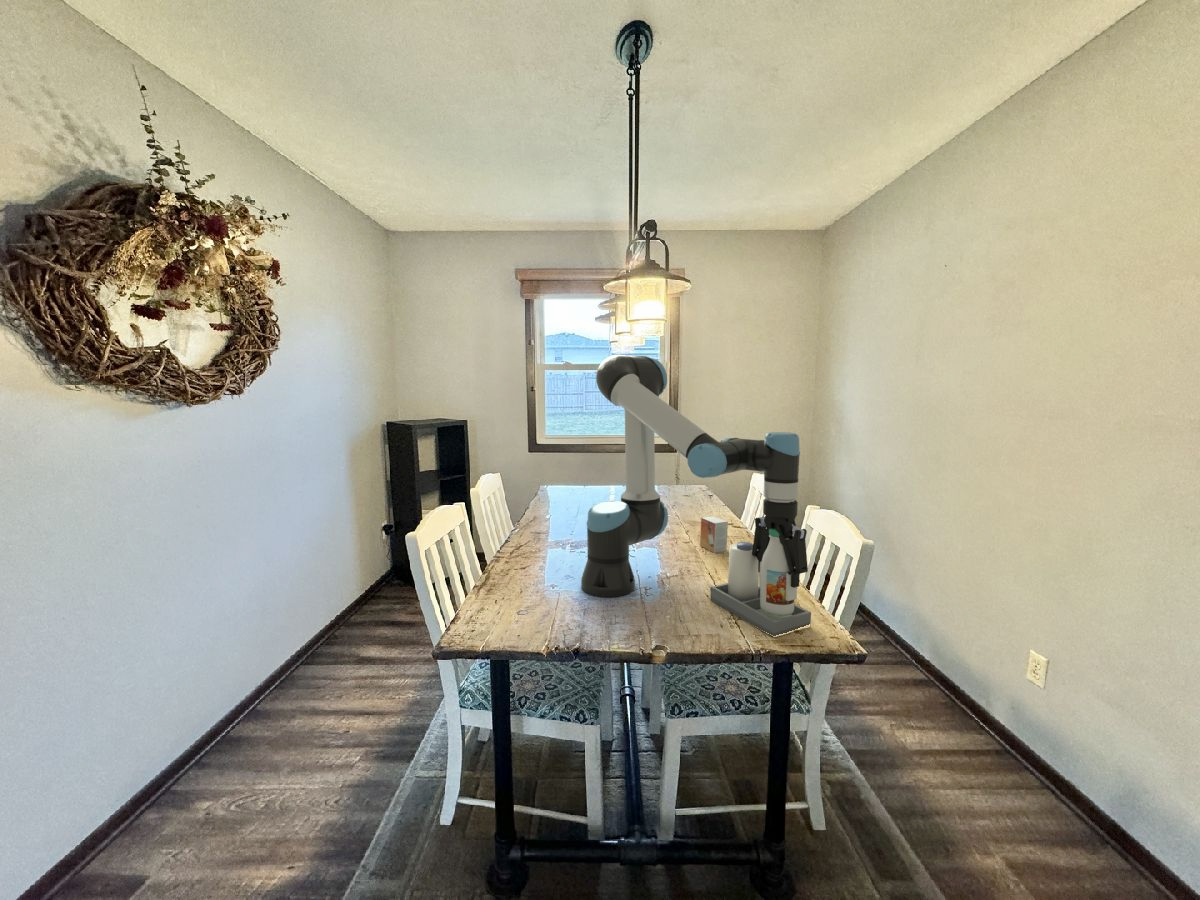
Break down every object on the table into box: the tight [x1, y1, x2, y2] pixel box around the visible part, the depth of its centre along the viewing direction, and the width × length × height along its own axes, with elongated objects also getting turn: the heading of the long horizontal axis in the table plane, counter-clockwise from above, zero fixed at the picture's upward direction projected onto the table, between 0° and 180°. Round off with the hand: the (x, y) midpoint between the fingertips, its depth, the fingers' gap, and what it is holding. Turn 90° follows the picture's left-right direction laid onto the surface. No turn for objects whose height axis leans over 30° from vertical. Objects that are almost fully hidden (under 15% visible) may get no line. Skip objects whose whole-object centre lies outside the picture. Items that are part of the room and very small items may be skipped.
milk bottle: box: [760, 528, 796, 616], centre depth 119 cm, size 8×8×20 cm
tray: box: [709, 582, 812, 636], centre depth 126 cm, size 12×22×4 cm, turn 27°
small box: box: [699, 515, 729, 554], centre depth 174 cm, size 8×6×10 cm
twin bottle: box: [727, 541, 760, 602], centre depth 130 cm, size 8×8×15 cm
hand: (777, 592), depth 120 cm, fingers closed on milk bottle, 8 cm apart
